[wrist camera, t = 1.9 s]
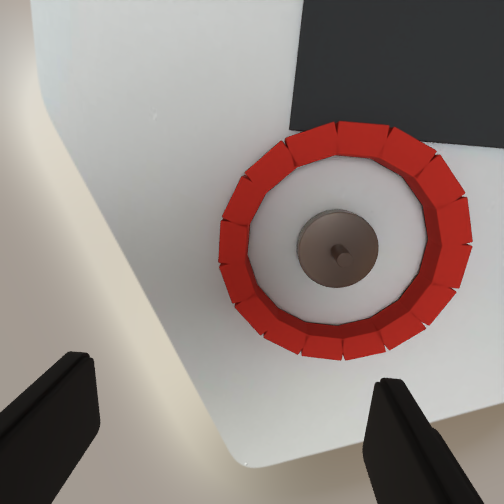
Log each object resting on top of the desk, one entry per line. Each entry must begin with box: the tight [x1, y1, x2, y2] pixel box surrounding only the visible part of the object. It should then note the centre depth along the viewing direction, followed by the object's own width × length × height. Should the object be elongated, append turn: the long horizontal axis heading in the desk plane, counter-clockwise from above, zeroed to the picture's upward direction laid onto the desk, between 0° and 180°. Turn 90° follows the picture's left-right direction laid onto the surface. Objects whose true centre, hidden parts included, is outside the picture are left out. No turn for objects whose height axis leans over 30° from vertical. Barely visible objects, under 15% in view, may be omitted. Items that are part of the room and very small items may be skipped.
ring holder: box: [297, 210, 378, 288], centre depth 24 cm, size 6×6×4 cm
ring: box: [218, 121, 473, 361], centre depth 24 cm, size 19×19×2 cm
